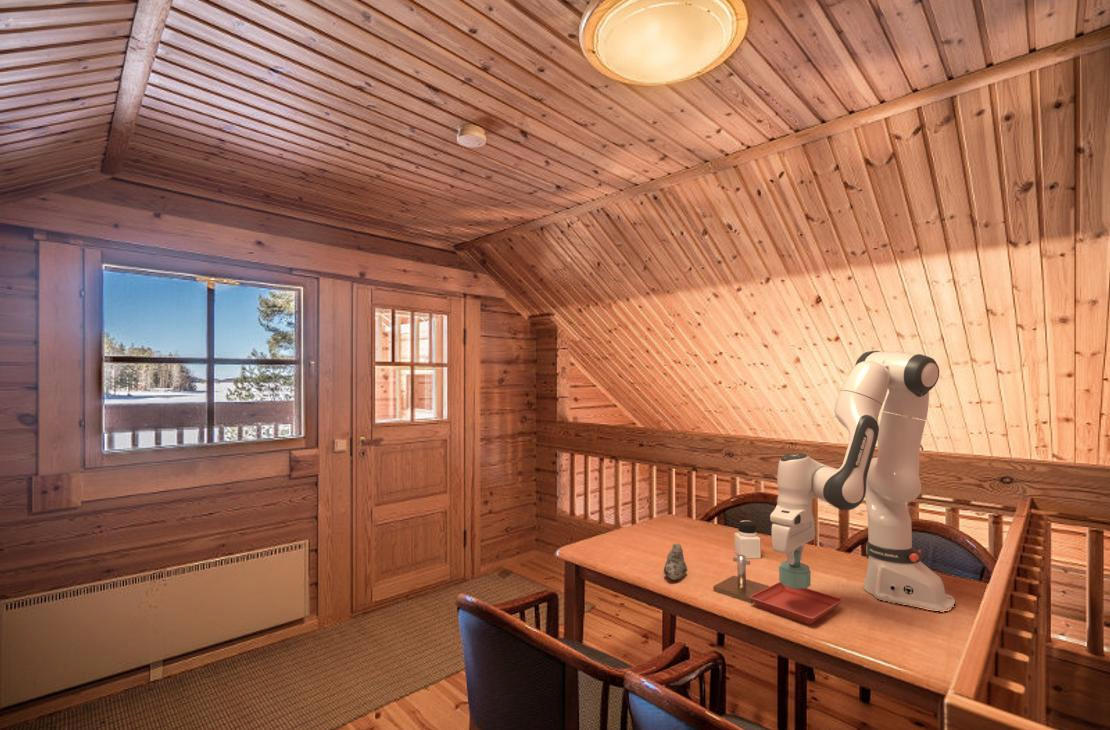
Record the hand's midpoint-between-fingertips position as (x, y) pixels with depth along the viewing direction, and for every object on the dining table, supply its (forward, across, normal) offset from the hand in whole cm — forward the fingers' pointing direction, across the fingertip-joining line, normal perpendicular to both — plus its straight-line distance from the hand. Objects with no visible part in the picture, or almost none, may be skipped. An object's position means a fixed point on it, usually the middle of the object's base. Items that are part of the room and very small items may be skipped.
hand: (794, 561), depth 150 cm
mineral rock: (+13, +4, -38) cm, 40 cm away
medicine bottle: (+13, -31, -30) cm, 45 cm away
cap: (+6, 0, 0) cm, 6 cm away
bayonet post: (+13, 0, -16) cm, 20 cm away
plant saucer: (+13, 0, 0) cm, 13 cm away
